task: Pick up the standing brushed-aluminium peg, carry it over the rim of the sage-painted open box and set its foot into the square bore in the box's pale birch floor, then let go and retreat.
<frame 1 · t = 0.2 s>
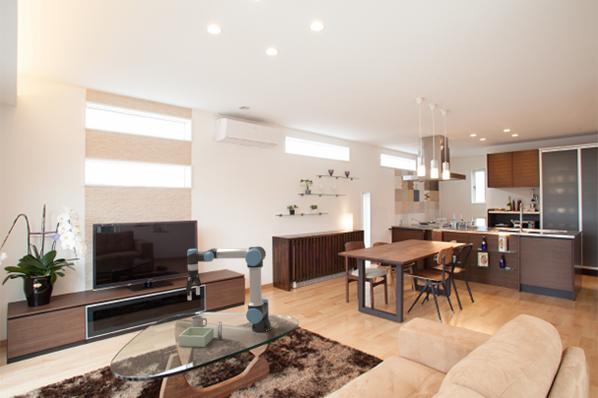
hand: (193, 297, 253), 28 cm above the table, fingers open, 13 cm apart
peg: (219, 339, 241), on the table
box: (196, 341, 238), on the table
mug: (199, 331, 257), on the table
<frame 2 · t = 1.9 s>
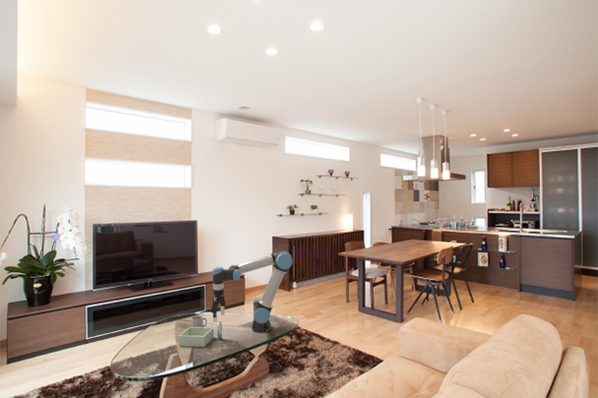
hand: (218, 318, 241), 15 cm above the table, fingers open, 13 cm apart
nothing on the table moved.
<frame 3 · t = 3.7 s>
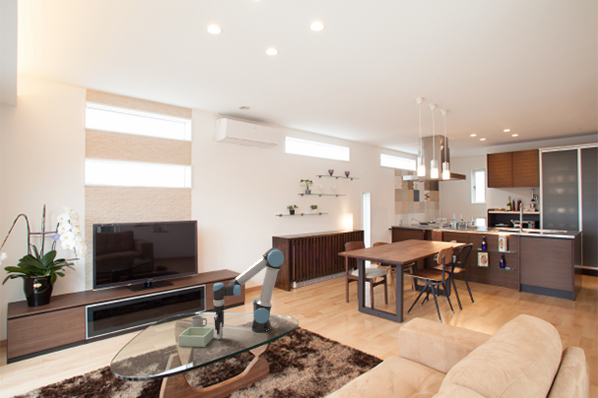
hand: (219, 337, 241), 2 cm above the table, fingers closed on peg, 3 cm apart
peg: (219, 339, 241), on the table, touching gripper
everything else where it was.
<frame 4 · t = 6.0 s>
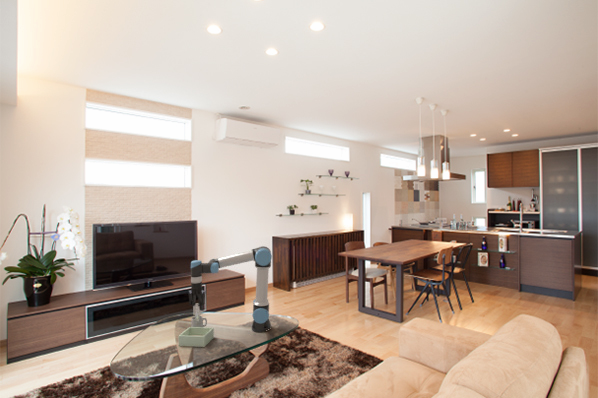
hand: (197, 314, 240), 19 cm above the table, fingers closed on peg, 3 cm apart
peg: (197, 320, 240), point 14 cm above the table, touching gripper
everything else where it was.
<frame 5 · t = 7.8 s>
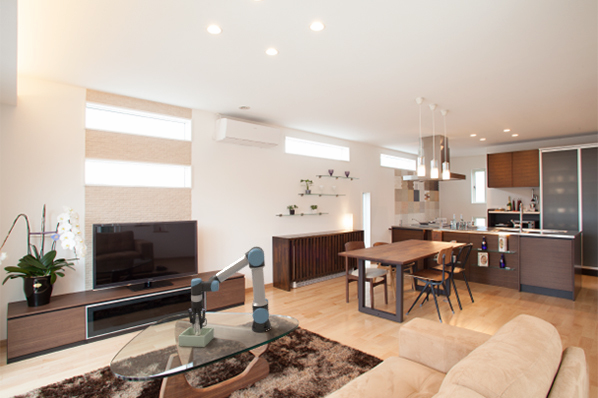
hand: (197, 332, 240), 5 cm above the table, fingers closed on peg, 3 cm apart
peg: (197, 338, 240), point 1 cm above the table, touching gripper
everything else where it was.
when the fingers open (3 cm above the table, at t = 8.4 s): peg stays where it is, resting in box.
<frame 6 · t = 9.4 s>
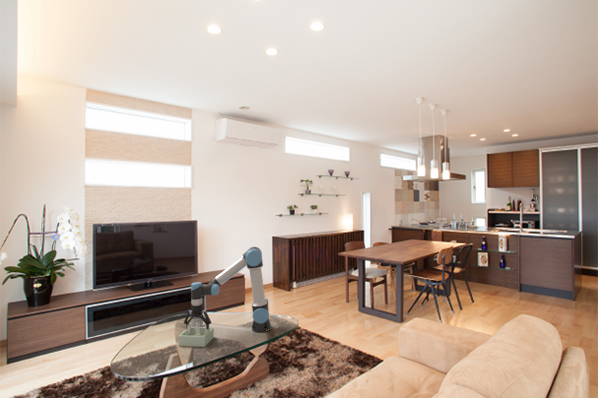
hand: (197, 333, 240), 5 cm above the table, fingers open, 13 cm apart
peg: (197, 340, 240), resting in box
everything else where it was.
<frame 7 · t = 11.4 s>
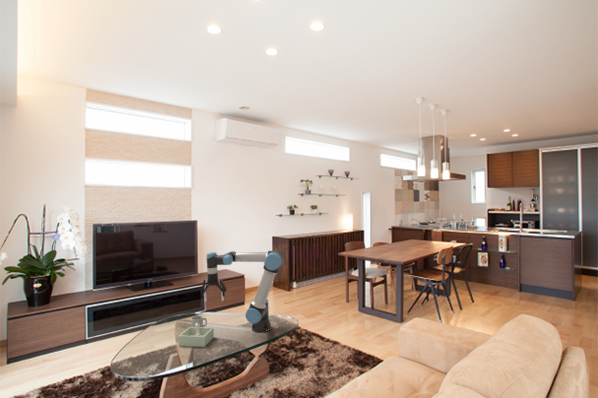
hand: (214, 300, 252), 25 cm above the table, fingers open, 13 cm apart
nothing on the table moved.
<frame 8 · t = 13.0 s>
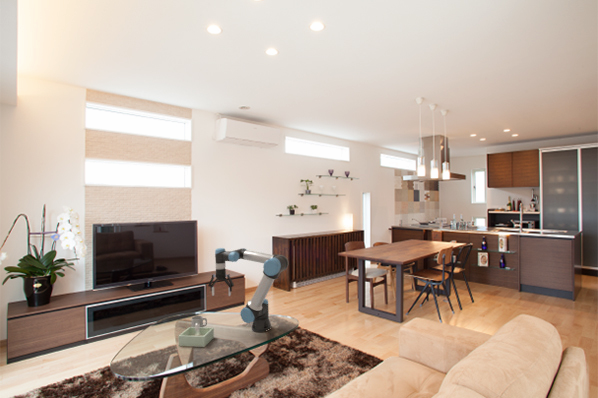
hand: (221, 295, 259), 27 cm above the table, fingers open, 13 cm apart
nothing on the table moved.
at the end: peg 0.2 cm from the target spot on the box, point 0.0 cm above the box's base; peg tilted 0°; the gripper is holding nothing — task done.
